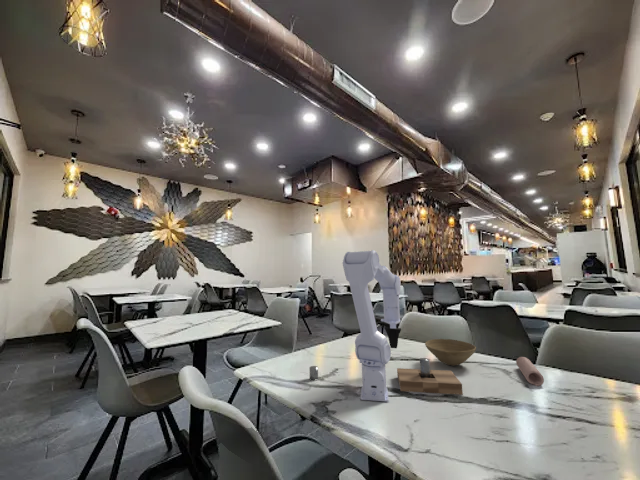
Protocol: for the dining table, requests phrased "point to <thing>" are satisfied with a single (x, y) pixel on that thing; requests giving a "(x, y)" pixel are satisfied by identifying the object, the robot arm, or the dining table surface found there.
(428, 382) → the hole plate
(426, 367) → the tall pin
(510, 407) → the dining table surface
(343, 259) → the robot arm
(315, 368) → the short pin
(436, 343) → the bowl
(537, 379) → the coil
